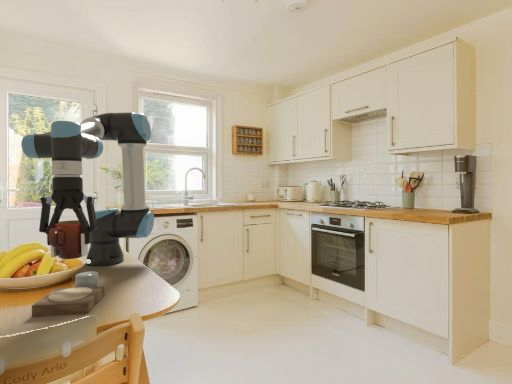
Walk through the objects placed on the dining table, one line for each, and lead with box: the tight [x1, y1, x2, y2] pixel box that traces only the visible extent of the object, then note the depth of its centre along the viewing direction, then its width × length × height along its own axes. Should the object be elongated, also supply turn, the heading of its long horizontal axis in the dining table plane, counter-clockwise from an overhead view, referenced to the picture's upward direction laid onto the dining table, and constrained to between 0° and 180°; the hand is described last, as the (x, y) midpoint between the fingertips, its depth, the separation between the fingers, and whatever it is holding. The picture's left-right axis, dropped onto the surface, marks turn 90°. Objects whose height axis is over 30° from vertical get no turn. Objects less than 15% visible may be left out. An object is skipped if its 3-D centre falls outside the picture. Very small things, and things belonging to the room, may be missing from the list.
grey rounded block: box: [74, 270, 99, 287], centre depth 112 cm, size 7×7×4 cm
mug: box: [49, 219, 84, 260], centre depth 94 cm, size 12×9×10 cm
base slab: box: [31, 285, 105, 318], centre depth 94 cm, size 14×14×3 cm
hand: (69, 255), depth 94 cm, fingers closed on mug, 7 cm apart
